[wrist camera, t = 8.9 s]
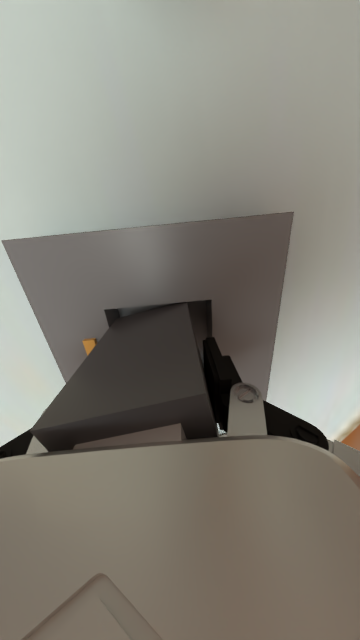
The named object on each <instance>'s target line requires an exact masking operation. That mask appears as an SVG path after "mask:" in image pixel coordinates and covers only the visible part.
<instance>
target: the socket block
mask: <svg viewBox="0 0 360 640" xmlns="http://www.w3.org/2000/svg"><path fill="white" fill-rule="evenodd" d="M293 213H294V212H286V213H276V214H266V215H256V216H246V217H235V218H225V219H215V220H205V221H195V222H185V223H175V224H164V225H154V226H144V227H134V228H124V229H114V230H104V231H93V232H83V233H73V234H63V235H53V236H43V237H33V238H22V239H12V240H2V243H3V245H4V248H5V250H6V252H7V254H8V256H9V259H10V261H11V263H12V265H13V267H14V270H15V272H16V274H17V276H18V279H19V281H20V283H21V285H22V287H23V290H24V292H25V294H26V296H27V298H28V301H29V303H30V305H31V307H32V309H33V312H34V314H35V316H36V318H37V320H38V323H39V325H40V327H41V329H42V332H43V334H44V336H45V338H46V340H47V343H48V345H49V347H50V349H51V351H52V354H53V356H54V358H55V360H56V362H57V365H58V367H59V369H60V371H61V374H62V376H63V378H64V380H65V382H66V383H67V382H68V381H69V379H70V378H71V377H72V376H73V374H74V373H75V372H76V370H77V369H78V368H79V366H80V365H81V364H82V363H83V361H84V360H85V359H86V357H87V356H88V355H89V353H90V352H91V351H92V350H93V348H94V347H95V346H96V344H97V343H98V342H99V340H100V339H101V338H102V337H103V335H104V334H105V333H106V331H107V330H108V329H109V327H110V326H111V325H112V324H113V322H114V321H115V320H116V319H117V318H121V317H124V316H128V315H132V314H136V313H140V312H144V311H148V310H151V309H155V308H159V307H163V306H167V305H171V304H175V303H180V302H187V304H188V308H189V312H190V316H191V320H192V324H193V328H194V331H195V335H196V339H197V343H198V347H199V351H200V355H201V359H202V363H203V367H204V359H203V340H206V338H207V337H214V338H215V340H216V342H217V345H218V347H219V349H220V352H221V354H222V356H225V355H229V356H230V357H231V359H232V362H233V364H234V366H235V368H236V370H237V372H238V374H239V376H240V378H241V380H242V382H243V383H249V384H252V385H254V386H255V387H257V388H258V389H259V390H260V392H261V394H262V397H263V400H264V401H266V398H267V391H268V384H269V377H270V371H271V364H272V357H273V350H274V343H275V336H276V330H277V323H278V316H279V309H280V302H281V295H282V289H283V282H284V275H285V268H286V261H287V254H288V248H289V241H290V234H291V227H292V220H293Z"/></svg>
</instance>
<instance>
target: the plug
mask: <svg viewBox="0 0 360 640" xmlns="http://www.w3.org/2000/svg"><path fill="white" fill-rule="evenodd" d="M30 432H31V433H32V434H33V435H34V436H35V437H36V439H37V440H38V441H39V442H40V443H41V444H42V445H43V446H44V447H45V448H46V450H47V451H48V452H52V451H63V450H73V449H84V448H95V447H106V446H117V445H129V444H140V443H152V442H164V441H181V440H188V439H201V438H213V437H220V436H219V432H218V427H217V423H216V420H215V415H214V411H213V407H212V402H211V398H210V394H209V389H208V385H207V381H206V376H205V372H204V367H203V363H202V359H201V355H200V351H199V347H198V343H197V339H196V335H195V331H194V328H193V324H192V320H191V316H190V312H189V308H188V304H187V302H180V303H175V304H171V305H167V306H163V307H159V308H155V309H151V310H148V311H144V312H140V313H136V314H132V315H128V316H124V317H121V318H117V319H116V320H115V321H114V322H113V324H112V325H111V326H110V327H109V329H108V330H107V331H106V333H105V334H104V335H103V337H102V338H101V339H100V340H99V342H98V343H97V344H96V346H95V347H94V348H93V350H92V351H91V352H90V353H89V355H88V356H87V357H86V359H85V360H84V361H83V363H82V364H81V365H80V366H79V368H78V369H77V370H76V372H75V373H74V374H73V376H72V377H71V378H70V379H69V381H68V382H67V383H66V385H65V386H64V387H63V389H62V390H61V391H60V392H59V394H58V395H57V396H56V398H55V399H54V400H53V402H52V403H51V404H50V405H49V407H48V408H47V409H46V411H45V412H44V413H43V415H42V416H41V417H40V418H39V420H38V421H37V422H36V424H35V425H34V426H33V428H32V429H31V430H30Z"/></svg>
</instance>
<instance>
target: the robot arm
mask: <svg viewBox="0 0 360 640" xmlns="http://www.w3.org/2000/svg"><path fill="white" fill-rule="evenodd" d="M203 359H204V372H205V376H206V381H207V385H208V389H209V394H210V398H211V402H212V407H213V411H214V415H215V420H216V423H219V427H220V430H224V431H225V432H227V437H213V438H201V439H188V440H181V441H164V442H152V443H140V444H129V445H117V446H106V447H95V448H84V449H73V450H63V451H52V452H48V451H47V450H46V448H45V447H44V446H43V445H42V444H41V443H40V442H39V441H38V440H37V439H36V437H35V436H34V435H33V434H32V433H31V432H30V430H31V429H32V428H31V429H29V430H28V431H26V432H24V433H23V434H21V435H20V436H18V437H16V438H15V439H13V440H11V441H10V442H8V443H6V444H5V445H3V446H1V447H0V640H360V451H358V450H356V449H354V448H351V447H349V446H347V445H345V444H343V443H341V442H339V441H337V440H334V442H332V441H330V440H328V439H326V437H325V436H324V434H323V433H322V432H321V431H320V430H319V429H318V428H316V427H315V426H313V425H312V424H310V423H308V422H306V421H304V420H302V419H300V418H298V417H296V416H294V415H292V414H290V413H288V412H286V411H284V410H282V409H280V408H278V407H276V406H274V405H272V404H270V403H268V402H266V401H264V400H263V397H262V394H261V392H260V390H259V389H258V388H257V387H255V386H254V385H252V384H249V383H243V382H242V380H241V378H240V376H239V374H238V372H237V370H236V368H235V366H234V364H233V362H232V359H231V357H230V356H229V355H225V356H222V354H221V352H220V349H219V347H218V345H217V342H216V340H215V338H214V337H207V338H206V340H203ZM45 411H46V410H45ZM45 411H44V412H45ZM44 412H43V413H44ZM42 415H43V414H42ZM42 415H41V416H42Z"/></svg>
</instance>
